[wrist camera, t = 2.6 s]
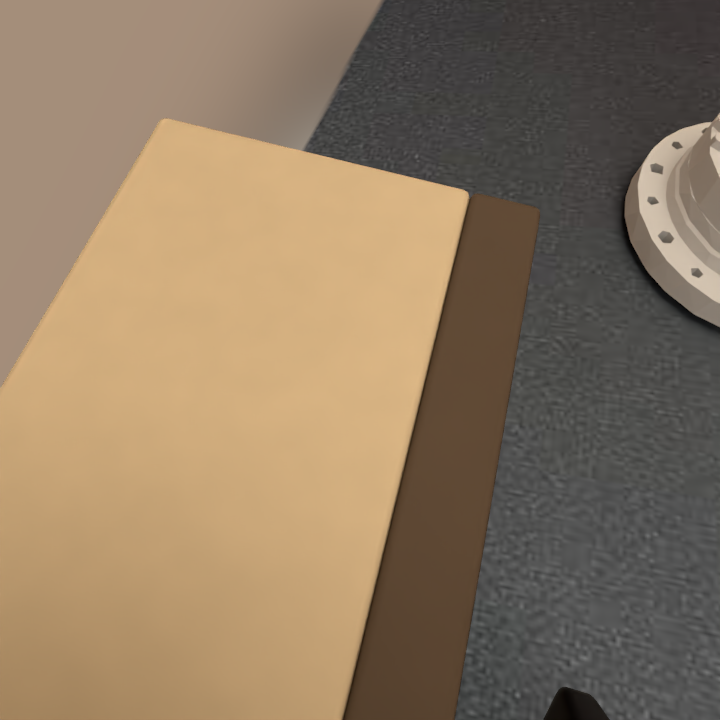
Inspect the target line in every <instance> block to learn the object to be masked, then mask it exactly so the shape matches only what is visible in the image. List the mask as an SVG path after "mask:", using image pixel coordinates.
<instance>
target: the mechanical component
mask: <svg viewBox="0 0 720 720" xmlns="http://www.w3.org/2000/svg"><path fill="white" fill-rule="evenodd" d="M625 220H626V225H627V229H628V233H629V237H630V242H631V243H632V245H633V247H634V249H635V251H636V252H637V254H638V256H639V258H640V260H641V261H642V263H643V265H644V267H645V268H646V270H647V272H648V273H649V274H650V275H651V276H652V277H653V278H654V280H655V281H656V282H657V283H658V284H659V285H660V286H661V287H662V289H663V290H664V291H665V292H667V293H668V294H669V295H670V296H672V297H673V298H674V299H675V300H677V301H678V302H679V303H680V304H682V305H683V306H684V307H685V308H687V309H688V310H689V311H690V312H692V313H693V314H694V315H696V316H698V317H700V318H702V319H704V320H706V321H708V322H710V323H712V324H714V325H716V326H718V327H720V113H719V114H718V116H717V117H716V118H715V119H714V121H713V122H709V123H702V124H698V125H694V126H691V127H687V128H683V129H680V130H679V131H677V132H675V133H673V134H671V135H669V136H667V137H665V138H664V139H663V140H662V141H661V142H660V143H659V144H658V145H656V146H655V147H654V148H653V149H652V150H651V152H650V153H649V155H648V156H647V158H646V159H645V161H644V162H643V163H642V165H641V166H640V168H639V169H638V171H637V172H636V174H635V175H634V177H633V178H632V180H631V183H630V186H629V189H628V191H627V194H626V198H625Z"/></svg>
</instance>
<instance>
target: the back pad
mask: <svg viewBox="0 0 720 720" xmlns="http://www.w3.org/2000/svg"><path fill="white" fill-rule="evenodd" d="M539 219H540V212H539V209H537V208H535V207H532V206H528V205H524V204H520V203H516V202H511V201H507V200H503V199H499V198H495V197H491V196H487V195H482V194H474V195H473V196H472V197H471V198H470V199H469V196H468V192H466V191H465V190H461V189H457V188H453V187H449V186H445V185H441V184H437V183H432V182H428V181H424V180H420V179H416V178H412V177H408V176H403V175H399V174H395V173H391V172H387V171H383V170H379V169H374V168H370V167H366V166H362V165H358V164H354V163H350V162H346V161H341V160H337V159H333V158H329V157H325V156H321V155H317V154H312V153H308V152H304V151H300V150H296V149H291V148H288V147H283V146H279V145H275V144H271V143H267V142H263V141H259V140H254V139H250V138H246V137H242V136H238V135H234V134H230V133H226V132H221V131H217V130H213V129H209V128H205V127H201V126H197V125H192V124H188V123H184V122H180V121H176V120H171V119H168V118H165V119H162V120H160V121H159V123H158V124H157V126H156V128H155V129H154V131H153V133H152V135H151V136H150V138H149V140H148V141H147V143H146V145H145V146H144V148H143V150H142V151H141V153H140V155H139V156H138V158H137V160H136V162H135V163H134V165H133V166H132V168H131V170H130V172H129V173H128V175H127V176H126V178H125V180H124V182H123V183H122V185H121V187H120V188H119V190H118V192H117V193H116V195H115V197H114V198H113V200H112V202H111V203H110V205H109V207H108V208H107V210H106V212H105V213H104V215H103V217H102V218H101V220H100V222H99V223H98V225H97V227H96V229H95V230H94V232H93V234H92V235H91V237H90V239H89V241H88V242H87V244H86V245H85V247H84V249H83V250H82V252H81V254H80V256H79V257H78V259H77V260H76V262H75V264H74V265H73V267H72V269H71V270H70V272H69V274H68V276H67V277H66V279H65V281H64V282H63V284H62V286H61V287H60V289H59V291H58V292H57V294H56V296H55V297H54V299H53V301H52V302H51V304H50V306H49V307H48V309H47V311H46V313H45V314H44V316H43V318H42V319H41V321H40V323H39V324H38V326H37V328H36V329H35V331H34V333H33V334H32V336H31V338H30V339H29V341H28V343H27V344H26V346H25V348H24V349H23V351H22V353H21V354H20V356H19V358H18V359H17V361H16V363H15V365H14V366H13V368H12V370H11V371H10V373H9V375H8V376H7V378H6V380H5V381H4V383H3V385H2V386H1V388H0V720H454V719H455V713H456V707H457V701H458V695H459V690H460V684H461V678H462V672H463V666H464V660H465V654H466V648H467V642H468V637H469V631H470V625H471V619H472V613H473V607H474V601H475V595H476V590H477V584H478V578H479V572H480V566H481V560H482V554H483V548H484V543H485V537H486V531H487V525H488V519H489V513H490V507H491V501H492V496H493V490H494V484H495V478H496V472H497V466H498V460H499V454H500V449H501V443H502V437H503V431H504V425H505V419H506V413H507V407H508V402H509V396H510V390H511V384H512V378H513V372H514V366H515V360H516V354H517V349H518V343H519V337H520V331H521V325H522V319H523V313H524V307H525V302H526V296H527V290H528V284H529V278H530V272H531V266H532V260H533V255H534V249H535V243H536V237H537V231H538V225H539Z"/></svg>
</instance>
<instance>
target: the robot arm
mask: <svg viewBox="0 0 720 720" xmlns="http://www.w3.org/2000/svg"><path fill="white" fill-rule="evenodd" d="M544 720H609V718H608V717H607V715H606V714H605V713H604V711H603V710H602V708H601V707H600V705H599V704H598V703H597V701H596V700H595V699H594V698H593V697H592V696H591V695H589V694H587V693H584V692H581V691H578V690H574V689H571V688H568V687H562V688H560V689H559V690H558V692H557V693H556V695H555V697H554V699H553V701H552V703H551V705H550V707H549V709H548V711H547V713H546V715H545V717H544Z"/></svg>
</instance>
